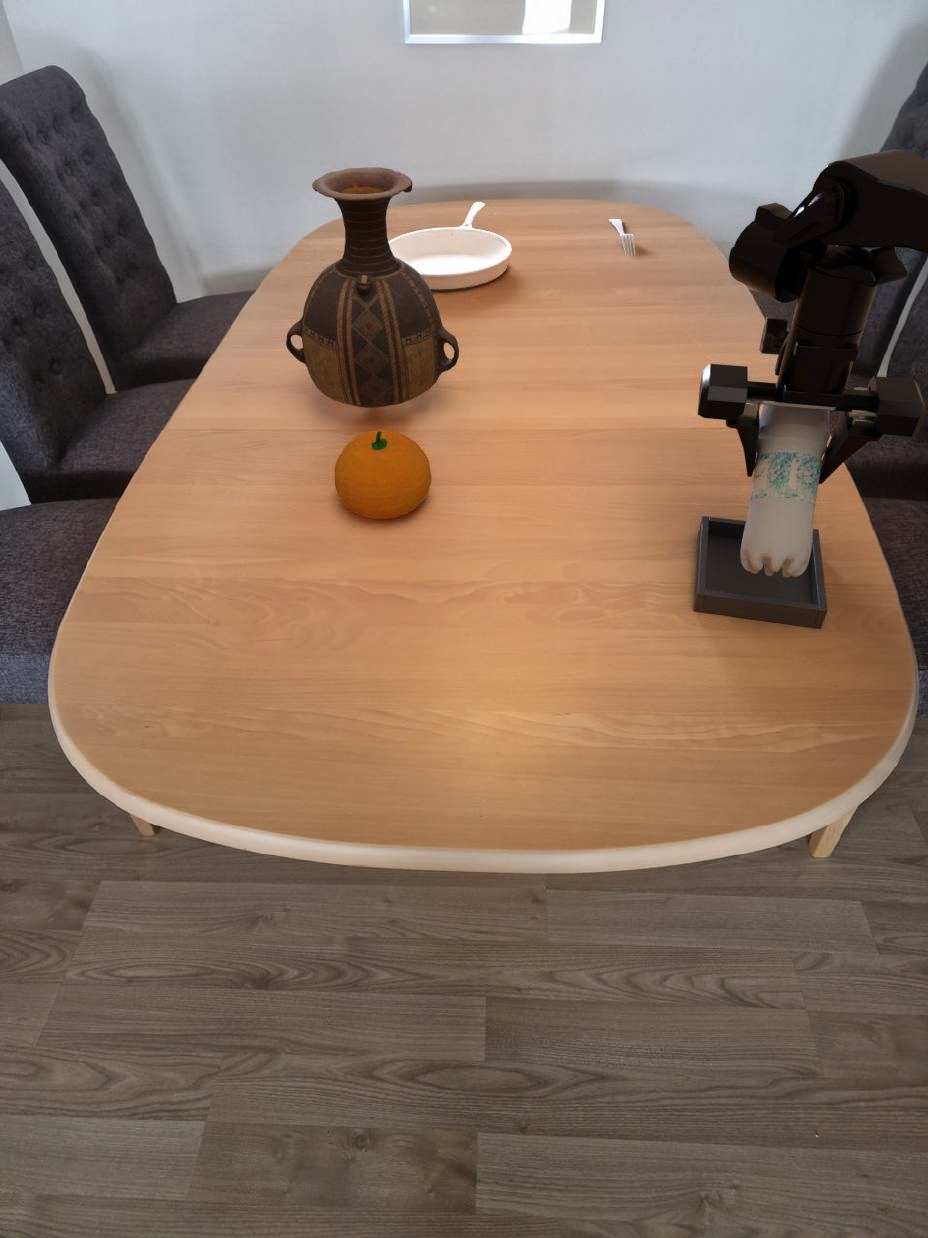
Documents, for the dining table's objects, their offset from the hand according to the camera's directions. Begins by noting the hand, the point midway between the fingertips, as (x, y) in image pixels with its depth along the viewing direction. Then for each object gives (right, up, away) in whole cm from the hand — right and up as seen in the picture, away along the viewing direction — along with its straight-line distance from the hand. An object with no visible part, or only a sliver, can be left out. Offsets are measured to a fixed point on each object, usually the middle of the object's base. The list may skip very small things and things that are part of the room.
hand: (784, 478), depth 79 cm
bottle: (-2, -10, -1) cm, 10 cm away
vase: (-43, +17, +39) cm, 61 cm away
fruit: (-41, +1, +21) cm, 46 cm away
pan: (-33, +58, +81) cm, 105 cm away
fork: (+1, +64, +86) cm, 107 cm away
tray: (0, -9, +9) cm, 13 cm away
